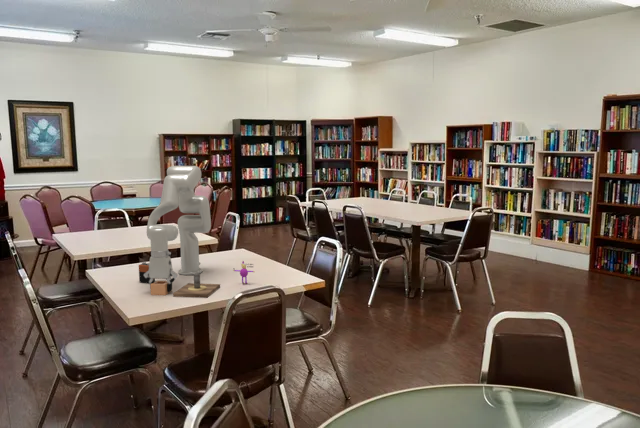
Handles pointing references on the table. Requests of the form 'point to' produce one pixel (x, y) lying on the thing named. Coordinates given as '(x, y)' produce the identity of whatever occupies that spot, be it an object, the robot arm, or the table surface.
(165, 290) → the tan square box
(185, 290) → the post base
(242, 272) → the wizard figurine
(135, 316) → the table surface
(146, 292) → the table surface
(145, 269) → the battery
